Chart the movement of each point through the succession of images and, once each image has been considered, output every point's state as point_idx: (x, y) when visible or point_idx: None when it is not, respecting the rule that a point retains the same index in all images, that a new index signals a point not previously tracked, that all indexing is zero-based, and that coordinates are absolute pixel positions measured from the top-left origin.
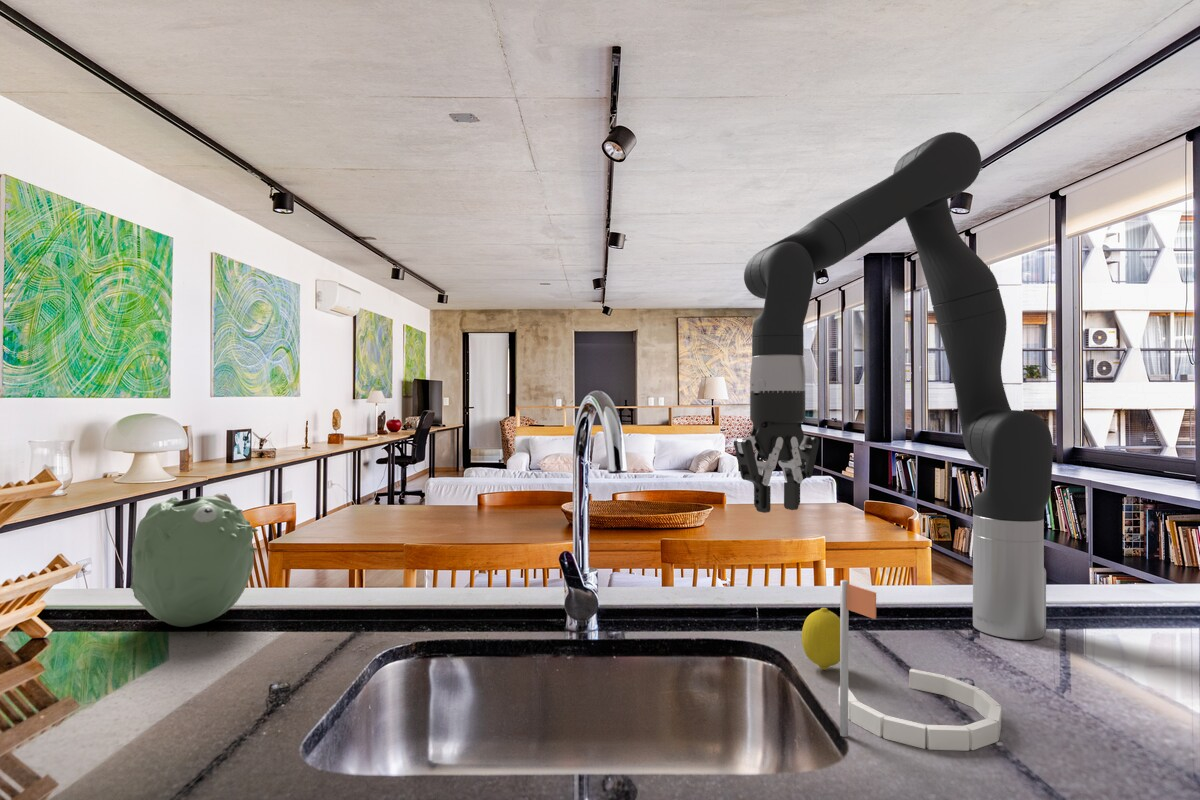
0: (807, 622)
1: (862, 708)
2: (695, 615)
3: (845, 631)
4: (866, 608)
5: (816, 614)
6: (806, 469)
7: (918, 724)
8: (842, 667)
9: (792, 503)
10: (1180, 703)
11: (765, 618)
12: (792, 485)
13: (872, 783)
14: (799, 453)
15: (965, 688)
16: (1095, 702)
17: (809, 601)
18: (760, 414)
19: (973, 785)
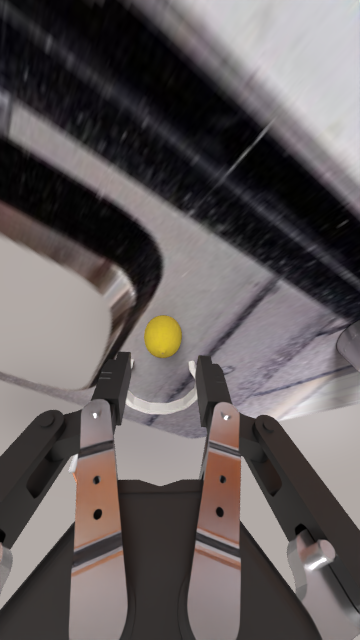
0: (147, 340)
1: None
2: (158, 98)
3: None
4: None
5: (153, 349)
6: (250, 467)
7: (129, 403)
8: None
9: (197, 381)
10: (281, 418)
11: (233, 183)
12: (202, 417)
13: (85, 403)
14: (301, 505)
15: (195, 391)
16: (252, 405)
17: (352, 154)
18: None
19: (124, 416)
